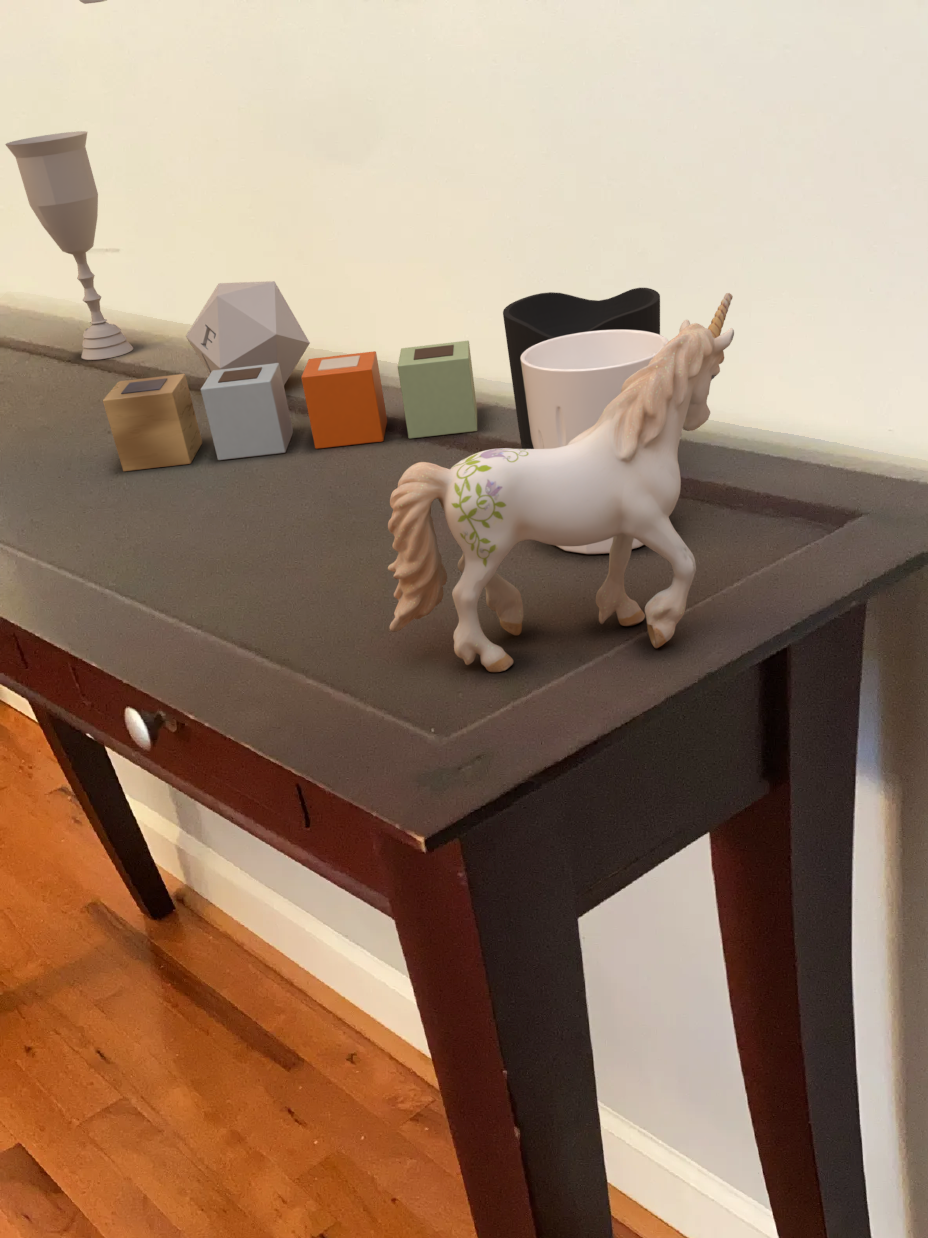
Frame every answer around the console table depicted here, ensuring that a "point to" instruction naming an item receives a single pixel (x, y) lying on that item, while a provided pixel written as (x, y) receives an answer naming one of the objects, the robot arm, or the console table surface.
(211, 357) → the die
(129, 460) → the line block
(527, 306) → the pen holder
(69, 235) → the chalice
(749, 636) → the console table surface
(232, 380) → the line block
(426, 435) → the line block
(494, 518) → the unicorn figurine
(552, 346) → the white cup
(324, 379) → the orange block
